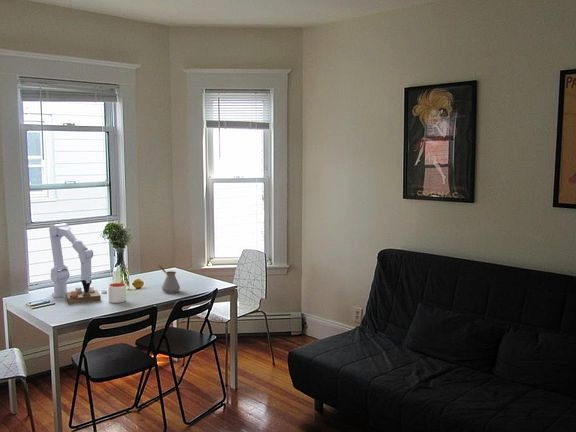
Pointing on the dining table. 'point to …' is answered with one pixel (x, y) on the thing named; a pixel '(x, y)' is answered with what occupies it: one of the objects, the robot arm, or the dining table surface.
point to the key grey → (78, 290)
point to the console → (83, 298)
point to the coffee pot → (170, 282)
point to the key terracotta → (73, 294)
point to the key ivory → (91, 289)
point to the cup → (117, 292)
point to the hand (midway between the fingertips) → (86, 292)
